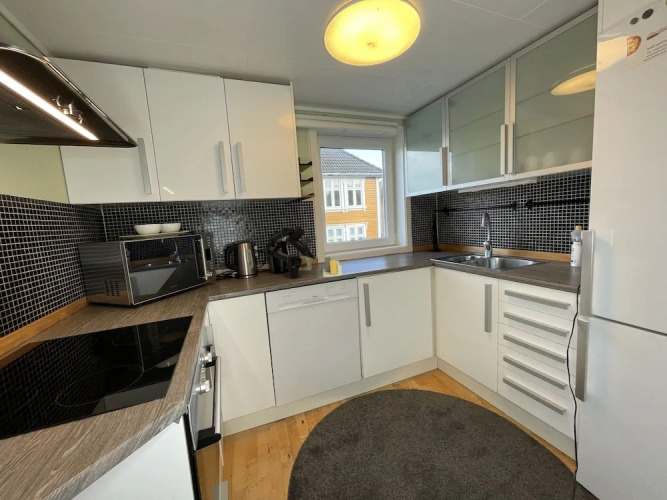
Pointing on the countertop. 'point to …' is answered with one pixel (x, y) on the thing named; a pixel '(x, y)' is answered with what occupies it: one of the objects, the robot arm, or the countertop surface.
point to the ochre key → (333, 267)
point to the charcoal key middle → (327, 264)
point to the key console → (339, 273)
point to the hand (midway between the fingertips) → (314, 258)
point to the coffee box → (304, 262)
